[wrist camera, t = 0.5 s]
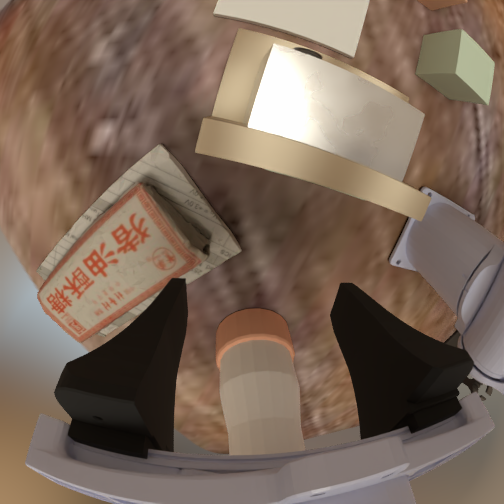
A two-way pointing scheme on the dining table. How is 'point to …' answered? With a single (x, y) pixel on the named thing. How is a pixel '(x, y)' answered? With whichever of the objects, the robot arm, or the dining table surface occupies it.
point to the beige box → (290, 151)
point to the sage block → (456, 66)
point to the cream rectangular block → (332, 110)
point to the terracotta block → (440, 3)
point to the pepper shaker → (258, 383)
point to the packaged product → (132, 248)
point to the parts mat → (304, 19)
